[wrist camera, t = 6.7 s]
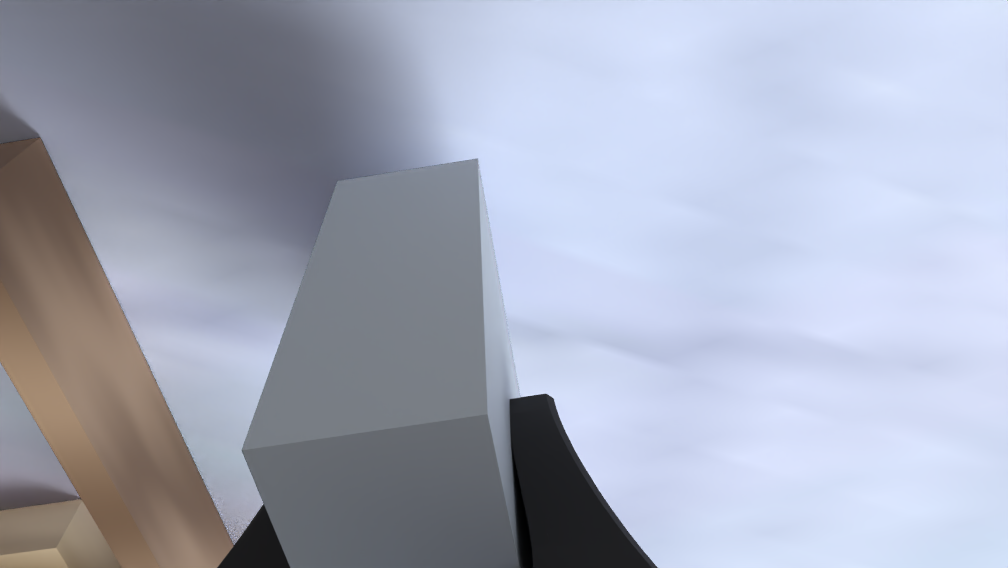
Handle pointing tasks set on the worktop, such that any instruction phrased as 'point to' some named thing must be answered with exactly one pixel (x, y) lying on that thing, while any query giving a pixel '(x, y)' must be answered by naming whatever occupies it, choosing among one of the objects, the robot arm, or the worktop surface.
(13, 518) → the offcut long
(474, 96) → the worktop surface
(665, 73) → the worktop surface
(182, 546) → the frame
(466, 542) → the pale grey rectangular prism
